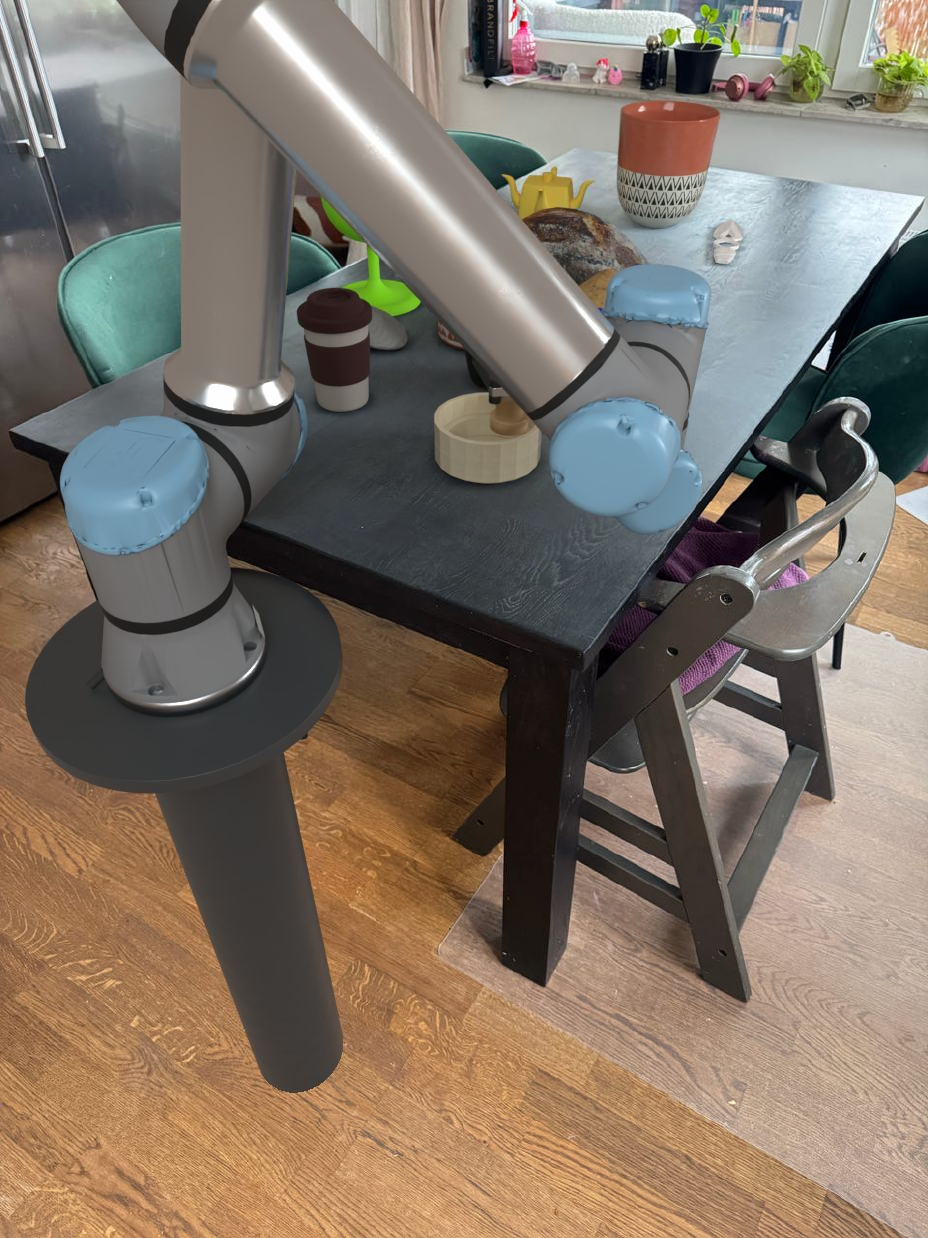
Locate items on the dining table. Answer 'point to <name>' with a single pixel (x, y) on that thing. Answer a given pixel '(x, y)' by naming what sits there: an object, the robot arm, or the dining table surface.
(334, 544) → the dining table surface
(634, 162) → the planter
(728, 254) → the white lumpy piece
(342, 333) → the coffee cup
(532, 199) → the teapot
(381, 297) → the wineglass
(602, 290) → the potato
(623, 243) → the bread
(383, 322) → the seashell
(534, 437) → the bowl
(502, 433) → the wooden pestle
